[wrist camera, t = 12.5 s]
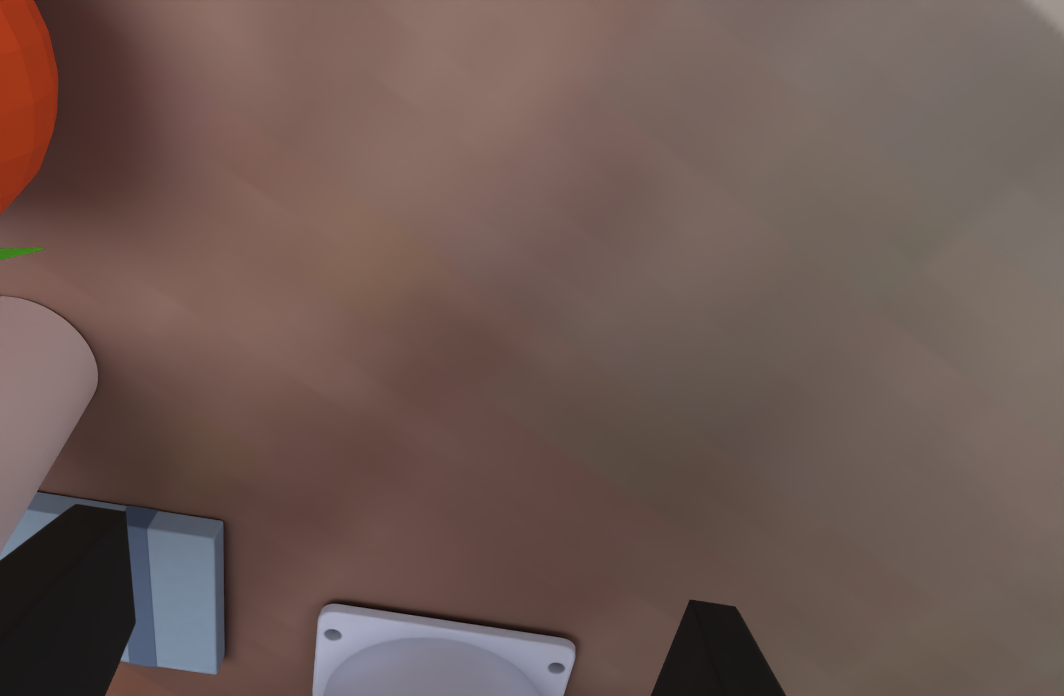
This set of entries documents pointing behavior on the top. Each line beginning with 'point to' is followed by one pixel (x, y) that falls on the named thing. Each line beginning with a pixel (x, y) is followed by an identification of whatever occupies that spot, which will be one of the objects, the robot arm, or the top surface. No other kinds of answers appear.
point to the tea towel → (160, 581)
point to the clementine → (24, 100)
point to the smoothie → (36, 399)
